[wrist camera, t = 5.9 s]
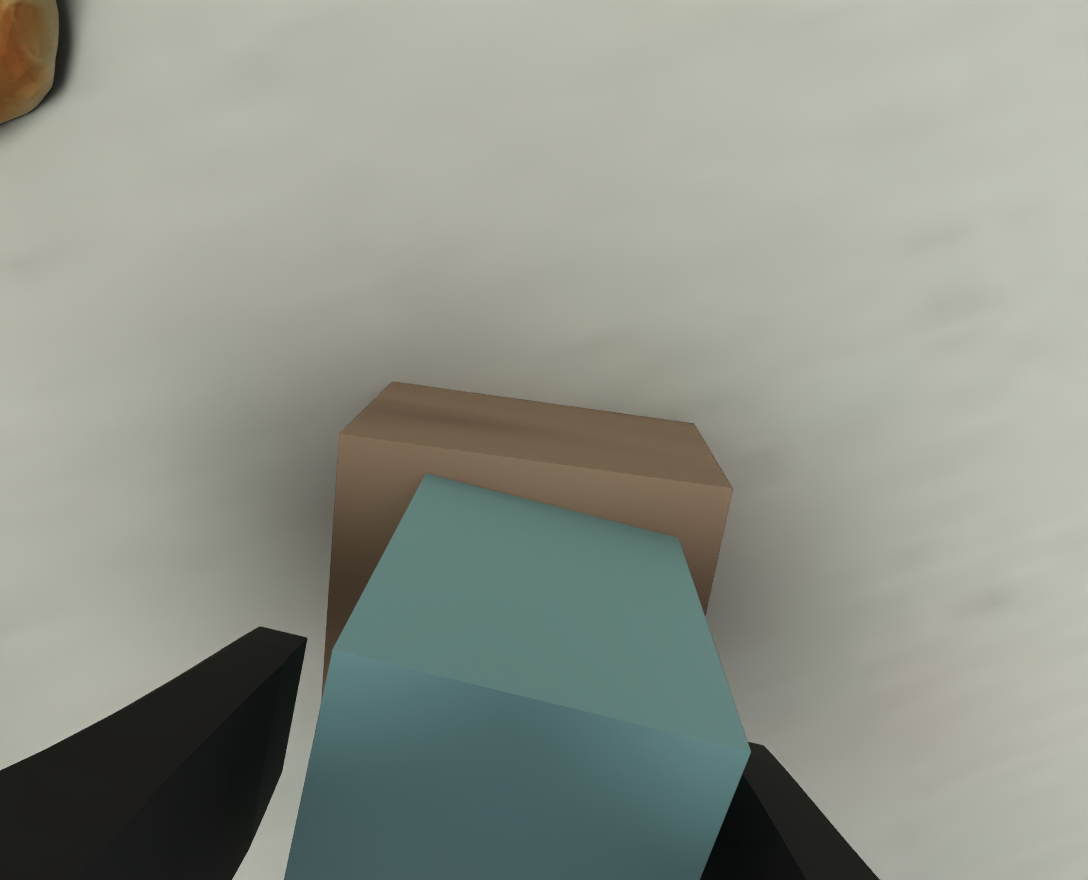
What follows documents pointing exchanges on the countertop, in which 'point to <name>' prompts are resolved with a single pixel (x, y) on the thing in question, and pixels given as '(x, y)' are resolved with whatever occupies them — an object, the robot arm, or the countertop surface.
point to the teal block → (520, 705)
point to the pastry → (26, 54)
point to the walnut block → (517, 475)
